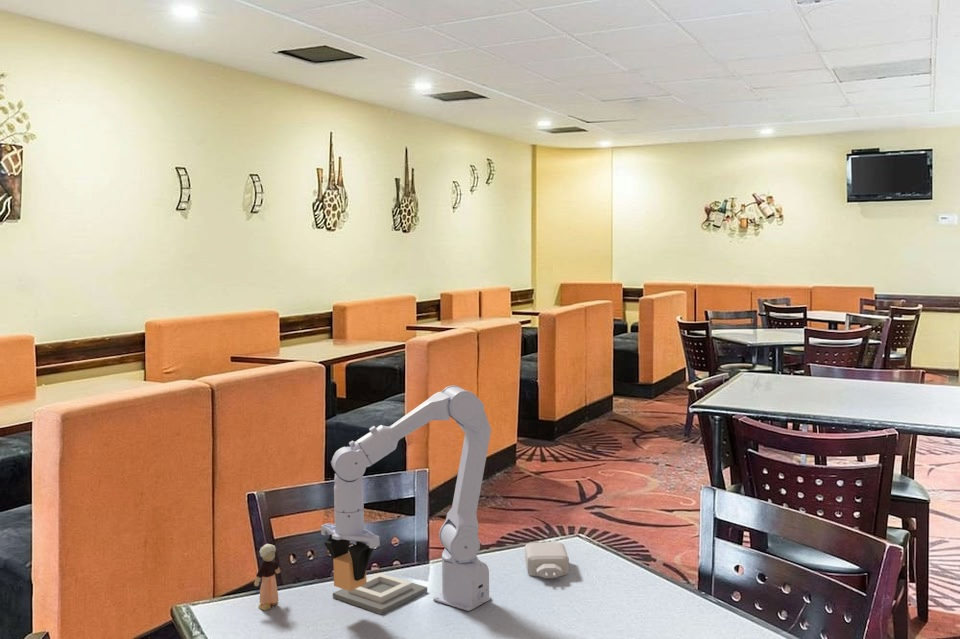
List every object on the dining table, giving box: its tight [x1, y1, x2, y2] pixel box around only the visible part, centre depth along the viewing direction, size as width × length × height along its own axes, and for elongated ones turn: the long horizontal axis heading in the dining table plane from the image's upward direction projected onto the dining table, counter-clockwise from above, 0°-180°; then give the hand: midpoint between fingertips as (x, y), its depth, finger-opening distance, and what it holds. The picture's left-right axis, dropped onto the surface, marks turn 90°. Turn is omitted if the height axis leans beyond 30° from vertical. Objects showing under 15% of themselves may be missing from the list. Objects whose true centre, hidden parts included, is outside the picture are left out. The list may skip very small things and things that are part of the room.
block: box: [332, 551, 367, 591], centre depth 159 cm, size 4×4×6 cm
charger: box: [524, 542, 570, 579], centre depth 180 cm, size 5×9×15 cm
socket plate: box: [332, 572, 428, 615], centre depth 169 cm, size 14×14×2 cm
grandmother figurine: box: [253, 543, 281, 611], centre depth 164 cm, size 8×4×13 cm, turn 168°
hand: (350, 576), depth 159 cm, fingers closed on block, 4 cm apart
